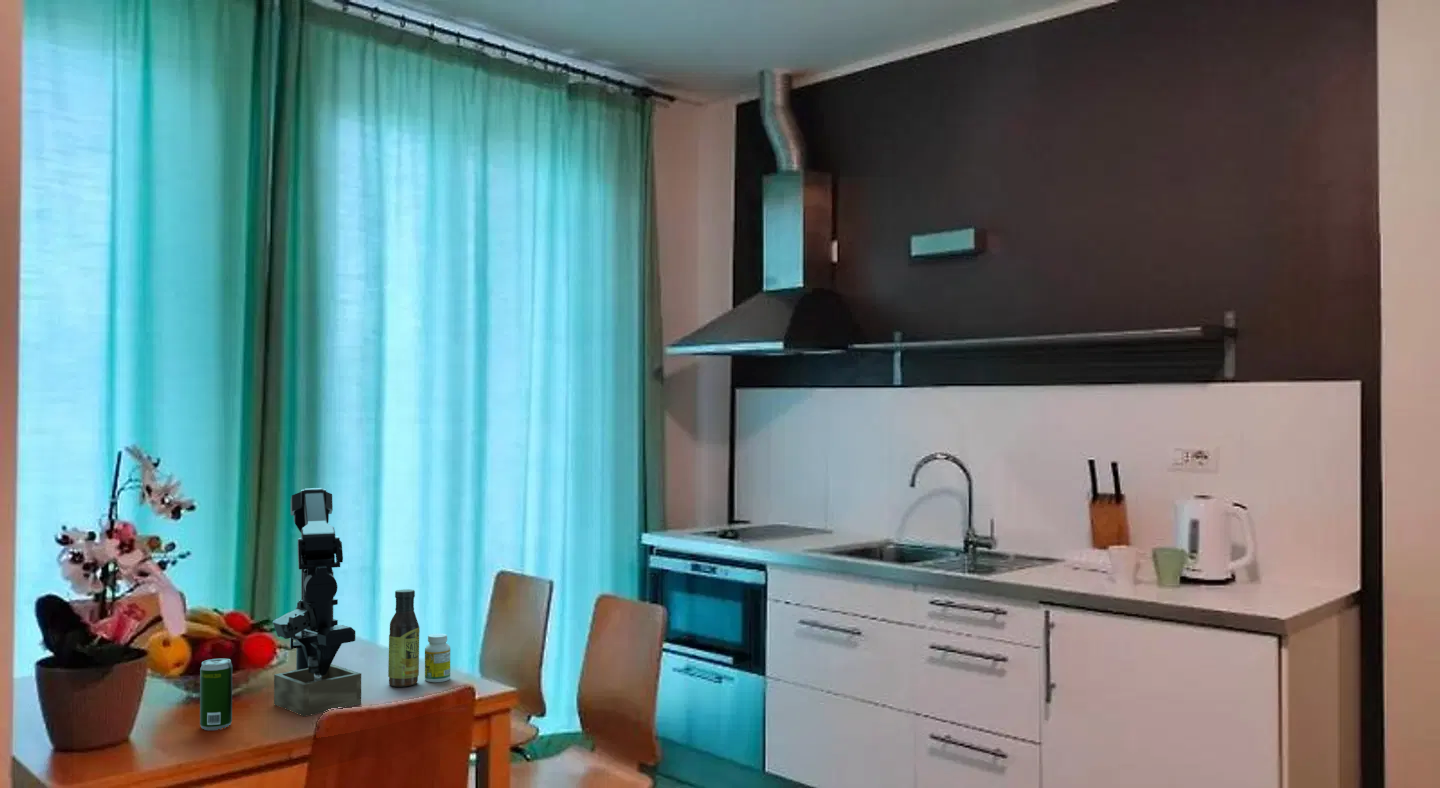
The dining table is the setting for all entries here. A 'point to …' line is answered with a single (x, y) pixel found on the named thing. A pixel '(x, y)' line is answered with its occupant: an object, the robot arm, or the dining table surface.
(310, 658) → the plunger
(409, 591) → the sauce bottle
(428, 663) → the supplement bottle
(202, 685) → the beer can
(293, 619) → the robot arm
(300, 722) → the dining table surface
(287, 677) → the frame
